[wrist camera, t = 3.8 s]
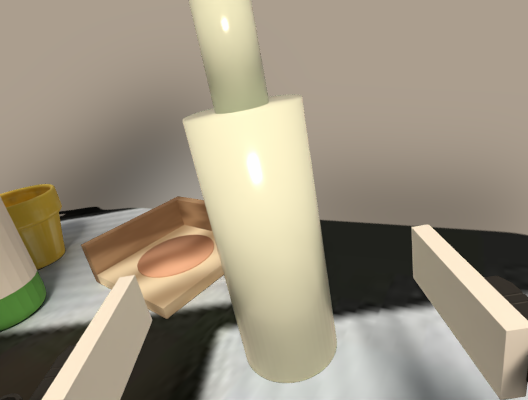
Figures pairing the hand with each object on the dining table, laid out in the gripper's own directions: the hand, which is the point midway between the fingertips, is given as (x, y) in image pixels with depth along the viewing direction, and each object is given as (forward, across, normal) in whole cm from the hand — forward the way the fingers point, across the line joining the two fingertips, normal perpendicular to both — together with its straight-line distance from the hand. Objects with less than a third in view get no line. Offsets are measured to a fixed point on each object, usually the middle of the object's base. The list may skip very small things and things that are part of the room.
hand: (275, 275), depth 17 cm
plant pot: (+30, -34, -11) cm, 47 cm away
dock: (+22, -12, -11) cm, 28 cm away
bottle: (+7, 0, -11) cm, 13 cm away
